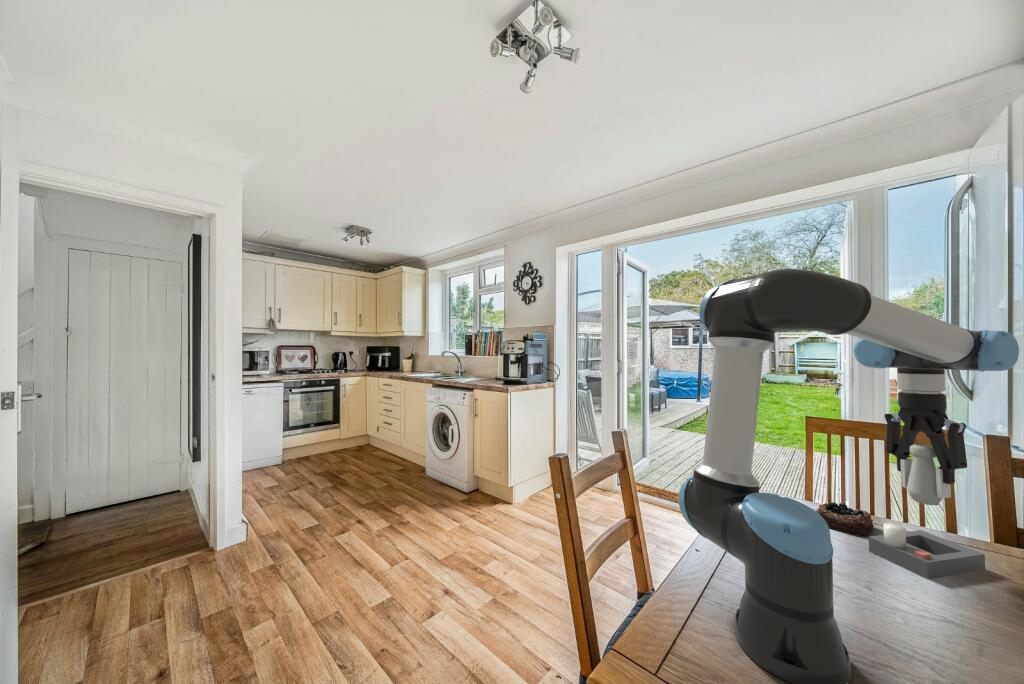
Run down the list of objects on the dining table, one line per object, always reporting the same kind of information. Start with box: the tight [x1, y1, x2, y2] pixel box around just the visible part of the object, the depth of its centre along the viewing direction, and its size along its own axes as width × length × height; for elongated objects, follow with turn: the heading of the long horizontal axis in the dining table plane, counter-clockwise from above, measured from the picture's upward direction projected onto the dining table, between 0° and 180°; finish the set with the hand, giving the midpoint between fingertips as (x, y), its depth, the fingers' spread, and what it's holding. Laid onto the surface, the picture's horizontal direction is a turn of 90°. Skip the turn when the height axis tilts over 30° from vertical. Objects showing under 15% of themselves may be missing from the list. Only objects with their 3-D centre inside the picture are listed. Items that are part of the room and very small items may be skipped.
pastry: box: [815, 501, 874, 538], centre depth 102 cm, size 11×12×6 cm
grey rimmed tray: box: [868, 522, 986, 580], centre depth 85 cm, size 16×11×8 cm
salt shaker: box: [906, 443, 944, 506], centre depth 85 cm, size 6×6×13 cm
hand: (925, 491), depth 85 cm, fingers closed on salt shaker, 6 cm apart
